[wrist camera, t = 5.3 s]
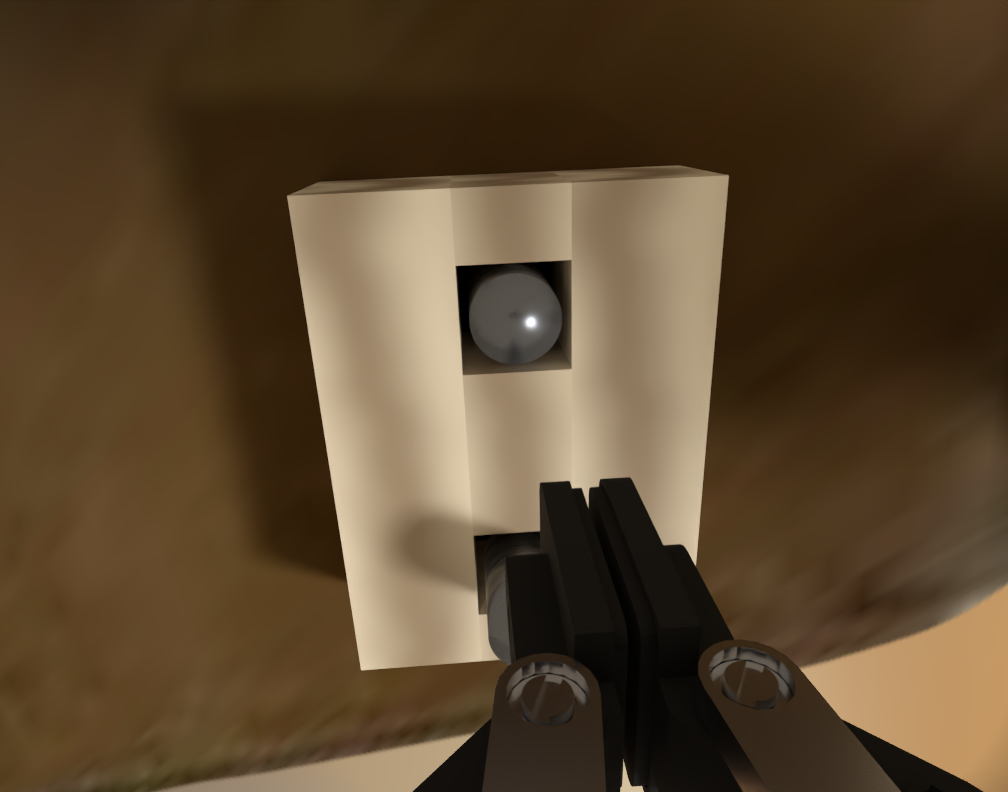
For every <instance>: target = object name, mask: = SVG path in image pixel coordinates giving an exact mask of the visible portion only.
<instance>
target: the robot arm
mask: <svg viewBox="0 0 1008 792" xmlns="http://www.w3.org/2000/svg"><path fill="white" fill-rule="evenodd" d="M539 499H540V553H536V554H520V555H505V584H506V605H507V621H508V634H509V645H510V656H511V665H509V666H508V667H507V668H506V670H505V671H504V672H503V673H502V674H501V676H500V677H499V680H498V683H497V686H496V689H495V696H494V704H493V712H492V718H491V719H490V720H489V721H488V722H487V723H485V724H484V725H483V726H482V727H481V728H480V729H479V730H478V731H477V732H476V733H475V734H474V735H473V736H472V737H471V738H469V739H468V740H467V741H466V742H465V743H464V744H463V745H462V746H461V747H460V748H459V749H458V750H457V751H456V752H455V753H454V754H452V755H451V756H450V757H449V758H448V759H447V760H446V761H445V762H444V763H443V764H442V765H441V766H440V767H439V768H437V769H436V771H434V772H433V773H432V774H431V775H430V776H429V777H428V778H427V779H426V780H425V781H424V782H422V783H421V784H420V785H419V786H418V787H417V788H416V789H415V790H414V791H413V792H620V787H621V786H622V774H623V773H622V772H623V759H624V763H625V767H626V771H627V775H628V778H629V781H630V784H631V786H643V790H644V792H983V791H981V790H979V789H978V788H976V787H975V786H973V785H971V784H970V783H968V782H966V781H964V780H962V779H960V778H958V777H956V776H954V775H952V774H950V773H948V772H946V771H944V770H942V769H940V768H938V767H936V766H934V765H932V764H930V763H928V762H926V761H924V760H922V759H920V758H918V757H916V756H914V755H912V754H910V753H908V752H906V751H904V750H902V749H900V748H898V747H896V746H894V745H892V744H890V743H888V742H886V741H884V740H882V739H880V738H878V737H876V736H874V735H872V734H870V733H868V732H866V731H864V730H862V729H860V728H858V727H856V726H854V725H852V724H850V723H848V722H846V721H844V720H842V719H841V718H840V717H839V716H838V715H837V713H836V712H835V711H834V710H833V709H832V707H831V706H830V705H829V704H828V703H827V701H826V700H825V699H824V698H823V697H822V695H821V694H820V693H819V692H818V690H817V689H816V688H815V687H814V686H813V685H812V683H811V682H810V681H809V680H808V679H807V677H806V676H805V675H804V673H803V672H802V671H801V670H800V669H799V667H798V666H797V665H795V664H794V663H793V662H792V661H791V660H790V659H789V658H788V657H787V656H785V655H784V654H782V653H780V652H779V651H777V650H775V649H774V648H772V647H769V646H766V645H764V644H761V643H758V642H754V641H747V640H741V639H740V640H734V638H733V636H732V634H731V633H730V631H729V629H728V627H727V625H726V623H725V621H724V619H723V617H722V615H721V614H720V612H719V610H718V608H717V606H716V604H715V602H714V600H713V598H712V596H711V595H710V593H709V591H708V589H707V587H706V585H705V583H704V581H703V579H702V577H701V576H700V574H699V572H698V570H697V568H696V566H695V564H694V562H693V560H692V559H691V557H690V555H689V553H688V551H687V549H686V548H685V547H684V546H683V545H681V544H675V545H663V543H662V541H661V539H660V537H659V535H658V533H657V531H656V529H655V527H654V524H653V522H652V520H651V518H650V516H649V514H648V512H647V510H646V508H645V506H644V504H643V501H642V499H641V497H640V495H639V493H638V491H637V489H636V487H635V485H634V483H633V480H632V479H631V477H624V478H607V479H600V481H599V487H590V488H589V508H588V505H587V502H586V499H585V496H584V493H583V490H582V488H572V486H571V483H570V481H558V482H541V483H540V487H539Z"/></svg>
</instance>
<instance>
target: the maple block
mask: <svg viewBox="0 0 1008 792" xmlns="http://www.w3.org/2000/svg"><path fill="white" fill-rule="evenodd" d="M728 181H729V175H725V174H720V173H715V172H710V171H705V170H700V169H695V168H690V167H685V166H680V165H675V166H653V167H631V168H609V169H587V170H566V171H544V172H522V173H500V174H478V175H456V176H434V177H412V178H390V179H368V180H346V181H324V182H318V183H315V184H313V185H311V186H308V187H306V188H304V189H302V190H299V191H297V192H295V193H292V194H290V195H288V196H287V199H288V205H289V211H290V218H291V224H292V231H293V237H294V243H295V250H296V256H297V263H298V269H299V275H300V282H301V288H302V295H303V301H304V307H305V314H306V320H307V326H308V333H309V339H310V346H311V352H312V358H313V365H314V371H315V378H316V384H317V390H318V397H319V403H320V410H321V416H322V422H323V429H324V435H325V442H326V448H327V454H328V461H329V467H330V474H331V480H332V486H333V493H334V499H335V505H336V512H337V518H338V525H339V531H340V537H341V544H342V550H343V557H344V563H345V569H346V576H347V582H348V589H349V595H350V601H351V608H352V614H353V621H354V627H355V633H356V640H357V646H358V653H359V659H360V665H361V670H372V669H385V668H398V667H411V666H424V665H437V664H450V663H463V662H476V661H489V660H500V659H499V658H498V657H497V656H496V655H495V654H494V652H493V651H492V649H491V647H490V644H489V639H488V622H487V605H486V588H485V570H484V548H485V545H486V542H487V540H481V541H476V539H475V536H476V535H491V534H505V533H520V532H534V531H540V499H539V487H540V483H541V482H558V481H570V483H571V486H572V488H582V490H583V493H584V496H585V499H586V502H587V505H588V508H589V488H590V487H599V481H600V479H607V478H624V477H631V479H632V480H633V483H634V485H635V487H636V489H637V491H638V493H639V495H640V497H641V499H642V501H643V504H644V506H645V508H646V510H647V512H648V514H649V516H650V518H651V520H652V522H653V524H654V527H655V529H656V531H657V533H658V535H659V537H660V539H661V541H662V543H663V545H675V544H681V545H683V546H684V547H685V548H686V549H687V551H688V553H689V555H690V557H691V559H692V560H693V562H694V564H695V566H696V557H697V546H698V534H699V522H700V510H701V498H702V487H703V475H704V463H705V451H706V440H707V428H708V416H709V404H710V393H711V381H712V369H713V357H714V346H715V334H716V322H717V310H718V299H719V287H720V275H721V263H722V251H723V240H724V228H725V216H726V204H727V193H728ZM542 261H552V290H553V292H554V293H555V295H556V297H557V299H558V301H559V304H560V306H561V311H562V326H561V331H560V333H559V336H558V338H557V340H556V342H555V343H554V345H553V346H552V347H551V349H550V350H549V351H548V352H546V353H545V354H544V355H543V356H541V357H540V358H538V359H536V360H534V361H531V362H529V363H525V364H518V365H512V364H505V363H501V362H498V361H496V360H494V359H492V358H490V357H488V356H487V355H486V354H485V353H483V352H482V351H481V350H480V348H479V347H478V346H477V344H476V343H475V341H474V339H473V336H472V334H471V332H462V325H461V310H460V295H459V279H458V266H464V265H484V264H503V263H523V262H542Z"/></svg>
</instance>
